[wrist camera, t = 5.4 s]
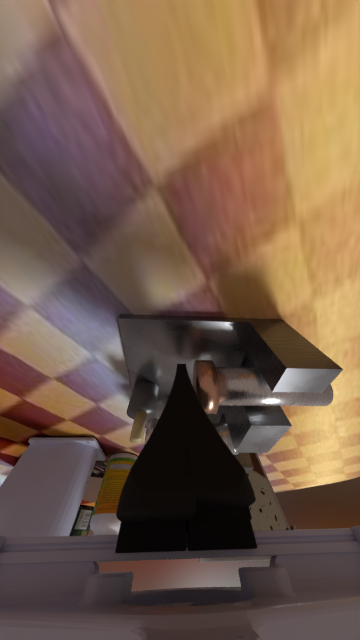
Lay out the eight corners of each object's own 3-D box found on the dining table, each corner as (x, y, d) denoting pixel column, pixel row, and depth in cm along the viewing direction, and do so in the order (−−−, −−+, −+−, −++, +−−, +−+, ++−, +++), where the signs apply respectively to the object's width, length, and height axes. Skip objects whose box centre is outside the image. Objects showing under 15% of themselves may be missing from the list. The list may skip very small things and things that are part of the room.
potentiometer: (135, 396, 16) (121, 447, 12) (132, 380, 14) (116, 433, 11) (159, 396, 16) (153, 447, 12) (158, 381, 15) (151, 433, 11)
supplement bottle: (105, 452, 25) (70, 561, 17) (136, 451, 25) (116, 560, 17) (114, 463, 28) (87, 561, 20) (142, 462, 28) (127, 560, 19)
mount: (140, 422, 20) (130, 474, 16) (120, 314, 11) (85, 364, 7) (233, 423, 20) (248, 473, 16) (282, 319, 12) (343, 369, 7)
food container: (192, 461, 28) (199, 562, 20) (188, 449, 25) (194, 562, 16) (257, 456, 27) (294, 558, 19) (261, 443, 24) (308, 558, 16)
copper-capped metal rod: (191, 379, 13) (196, 423, 10) (195, 350, 11) (202, 393, 8) (289, 381, 14) (322, 424, 11) (308, 352, 12) (354, 395, 9)
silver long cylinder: (151, 426, 18) (145, 467, 15) (149, 411, 16) (142, 453, 13) (225, 427, 18) (235, 467, 15) (232, 411, 16) (245, 453, 13)
